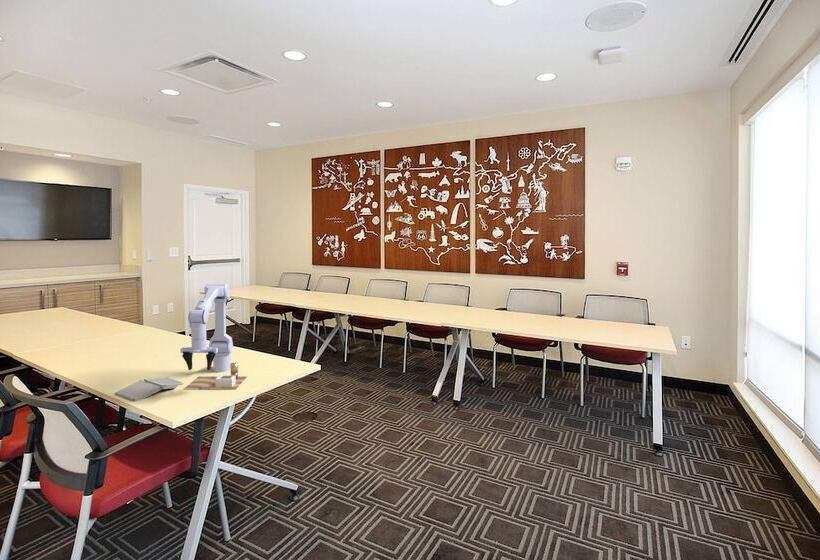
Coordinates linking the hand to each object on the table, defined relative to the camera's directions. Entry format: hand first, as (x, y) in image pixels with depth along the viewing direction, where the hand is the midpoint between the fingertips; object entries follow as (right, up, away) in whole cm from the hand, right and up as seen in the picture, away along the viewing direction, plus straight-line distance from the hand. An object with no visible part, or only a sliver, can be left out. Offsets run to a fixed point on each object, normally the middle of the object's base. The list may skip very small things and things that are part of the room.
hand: (199, 369), depth 190 cm
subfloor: (+3, -9, +10) cm, 14 cm away
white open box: (+8, -8, +7) cm, 14 cm away
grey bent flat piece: (-22, -10, +3) cm, 24 cm away
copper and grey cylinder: (+8, -7, +16) cm, 20 cm away
